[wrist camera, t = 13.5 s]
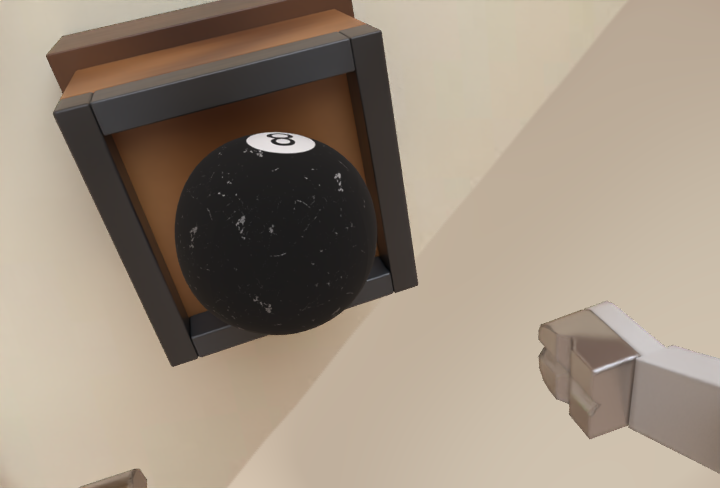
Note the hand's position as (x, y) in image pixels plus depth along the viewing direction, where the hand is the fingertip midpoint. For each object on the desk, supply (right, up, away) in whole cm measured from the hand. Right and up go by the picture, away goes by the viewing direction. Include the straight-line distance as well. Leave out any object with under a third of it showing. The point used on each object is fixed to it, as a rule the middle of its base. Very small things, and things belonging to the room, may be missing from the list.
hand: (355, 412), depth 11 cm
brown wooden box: (-6, +9, +15) cm, 19 cm away
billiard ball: (-3, +5, +9) cm, 11 cm away
